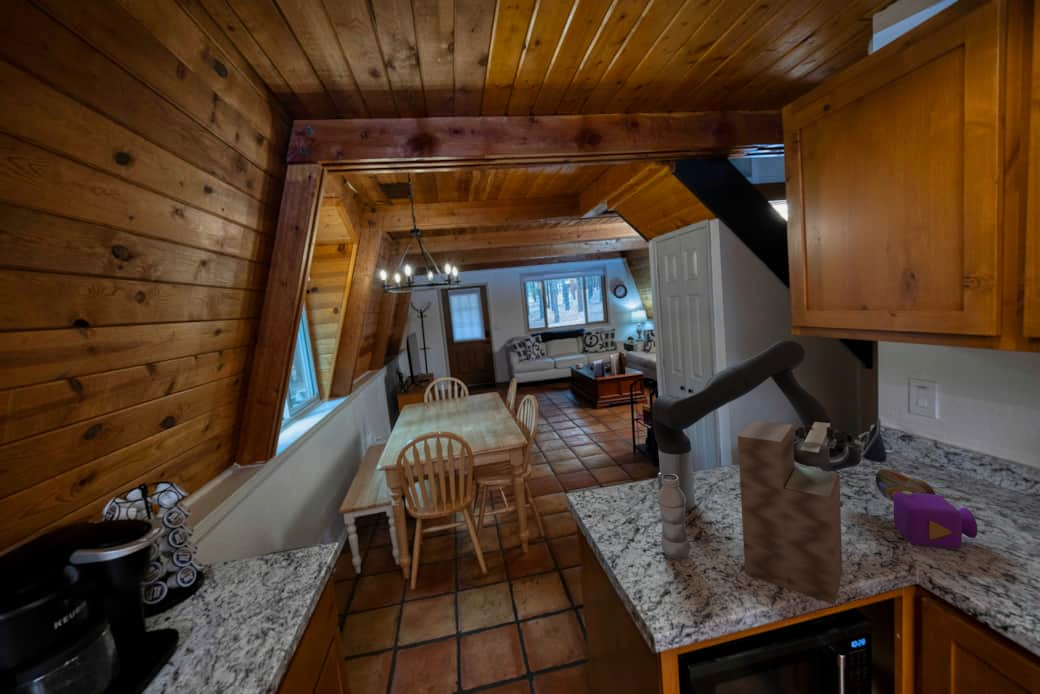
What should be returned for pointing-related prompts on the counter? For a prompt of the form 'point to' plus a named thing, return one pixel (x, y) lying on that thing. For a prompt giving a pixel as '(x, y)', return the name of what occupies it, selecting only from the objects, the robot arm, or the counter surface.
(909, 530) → the toy camera
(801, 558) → the step stand
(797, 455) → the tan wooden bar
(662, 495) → the plastic bottle
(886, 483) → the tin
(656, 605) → the counter surface
